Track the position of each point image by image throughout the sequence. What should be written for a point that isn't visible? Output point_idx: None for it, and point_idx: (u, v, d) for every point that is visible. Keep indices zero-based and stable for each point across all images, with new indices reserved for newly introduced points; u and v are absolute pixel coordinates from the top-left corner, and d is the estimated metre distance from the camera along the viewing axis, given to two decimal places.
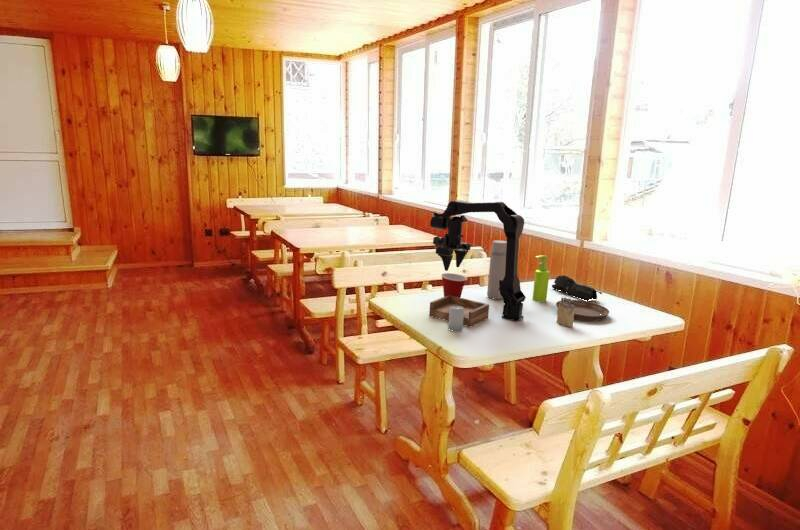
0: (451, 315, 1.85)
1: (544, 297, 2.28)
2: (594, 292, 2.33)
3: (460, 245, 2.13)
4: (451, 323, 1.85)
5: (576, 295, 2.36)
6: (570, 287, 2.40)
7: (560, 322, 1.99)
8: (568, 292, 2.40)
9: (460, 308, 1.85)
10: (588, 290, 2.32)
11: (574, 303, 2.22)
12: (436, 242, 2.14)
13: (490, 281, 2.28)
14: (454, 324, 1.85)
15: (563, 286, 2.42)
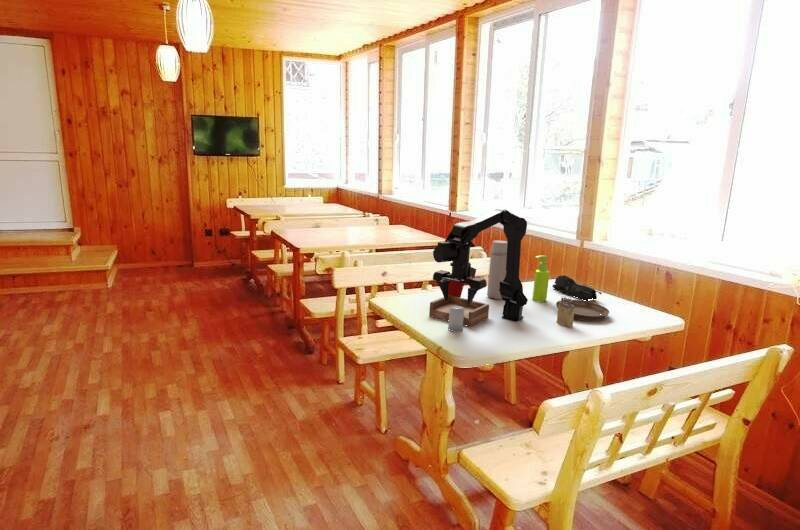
0: (451, 315, 1.85)
1: (544, 297, 2.28)
2: (594, 292, 2.33)
3: (457, 276, 1.81)
4: (451, 323, 1.85)
5: (576, 295, 2.36)
6: (570, 287, 2.40)
7: (560, 322, 1.99)
8: (568, 292, 2.40)
9: (460, 308, 1.85)
10: (587, 290, 2.32)
11: (574, 303, 2.22)
12: None
13: (490, 281, 2.28)
14: (454, 324, 1.85)
15: (563, 286, 2.42)
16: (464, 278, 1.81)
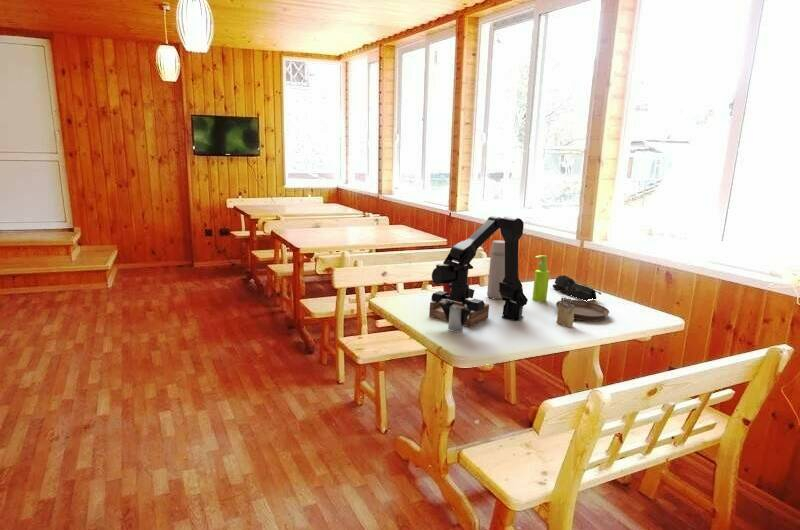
0: (451, 315, 1.85)
1: (544, 297, 2.28)
2: (593, 292, 2.33)
3: (455, 298, 1.82)
4: (451, 323, 1.85)
5: (575, 295, 2.36)
6: (570, 287, 2.40)
7: (560, 322, 1.99)
8: (568, 292, 2.40)
9: (460, 308, 1.85)
10: (587, 290, 2.32)
11: (574, 303, 2.22)
12: None
13: (490, 281, 2.28)
14: (454, 324, 1.85)
15: (563, 286, 2.42)
16: (462, 300, 1.83)
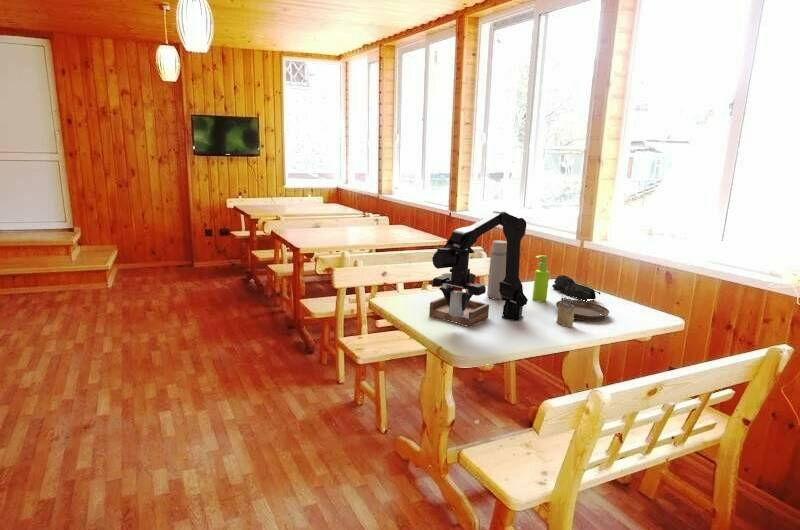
0: (452, 300, 1.84)
1: (544, 297, 2.28)
2: (593, 292, 2.32)
3: (456, 282, 1.81)
4: (452, 308, 1.84)
5: (575, 295, 2.36)
6: (569, 287, 2.40)
7: (560, 322, 1.99)
8: (567, 292, 2.40)
9: (461, 293, 1.84)
10: (586, 290, 2.32)
11: (574, 303, 2.22)
12: None
13: (490, 281, 2.28)
14: (455, 308, 1.83)
15: (562, 286, 2.42)
16: (463, 284, 1.81)
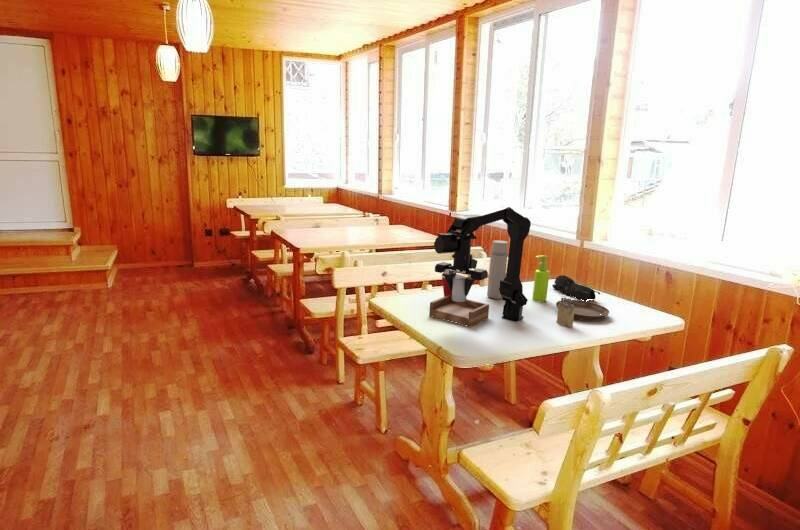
0: (455, 285, 1.86)
1: (544, 297, 2.28)
2: (592, 292, 2.32)
3: (458, 268, 1.83)
4: (454, 293, 1.86)
5: (574, 295, 2.36)
6: (569, 287, 2.40)
7: (560, 322, 1.99)
8: (567, 292, 2.40)
9: (463, 278, 1.86)
10: (586, 290, 2.32)
11: (574, 303, 2.22)
12: None
13: (490, 281, 2.28)
14: (458, 294, 1.85)
15: (562, 286, 2.42)
16: (466, 269, 1.83)
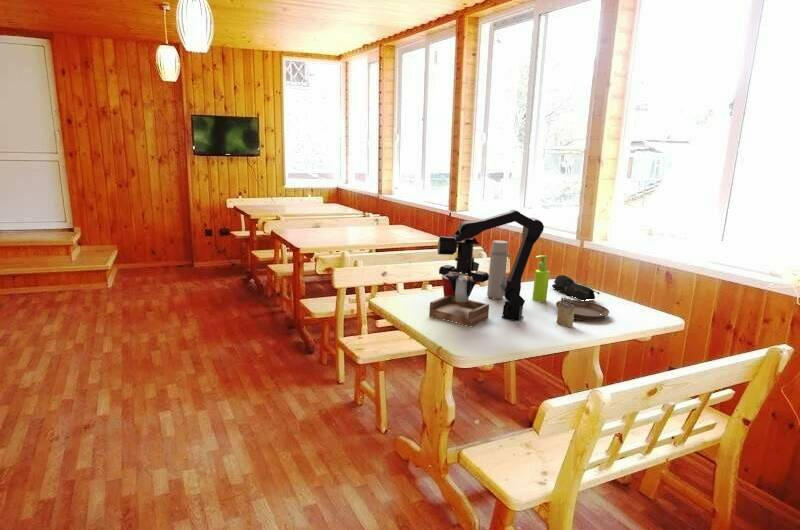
0: (457, 286, 1.98)
1: (544, 297, 2.28)
2: (592, 292, 2.32)
3: (461, 270, 1.96)
4: (457, 294, 1.98)
5: (574, 295, 2.36)
6: (569, 287, 2.40)
7: (560, 322, 1.99)
8: (566, 292, 2.40)
9: (466, 280, 1.99)
10: (585, 290, 2.32)
11: (574, 303, 2.22)
12: None
13: (490, 281, 2.28)
14: (460, 294, 1.98)
15: (562, 286, 2.42)
16: (468, 272, 1.96)
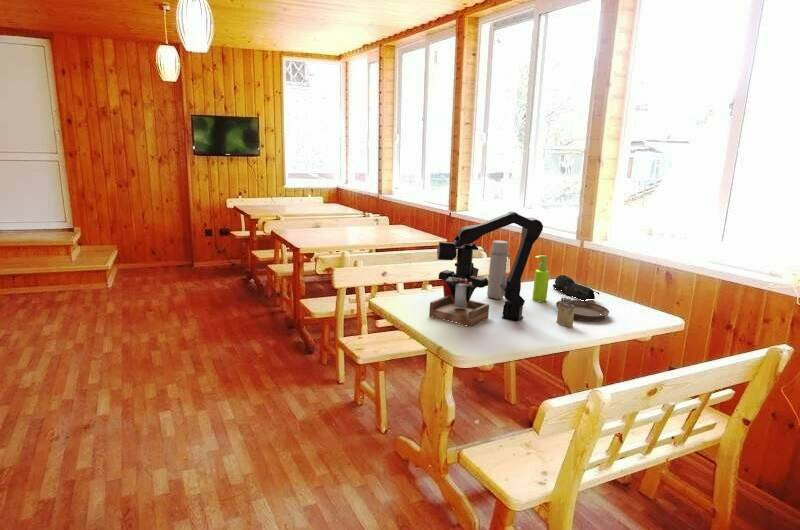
0: (457, 292, 1.98)
1: (544, 297, 2.28)
2: (592, 292, 2.32)
3: (460, 276, 1.96)
4: (457, 299, 1.99)
5: (574, 295, 2.36)
6: (569, 287, 2.40)
7: (560, 322, 1.99)
8: (567, 292, 2.40)
9: (465, 285, 1.99)
10: (585, 290, 2.32)
11: (574, 303, 2.22)
12: None
13: (490, 281, 2.28)
14: (460, 300, 1.98)
15: (562, 286, 2.43)
16: (467, 277, 1.96)
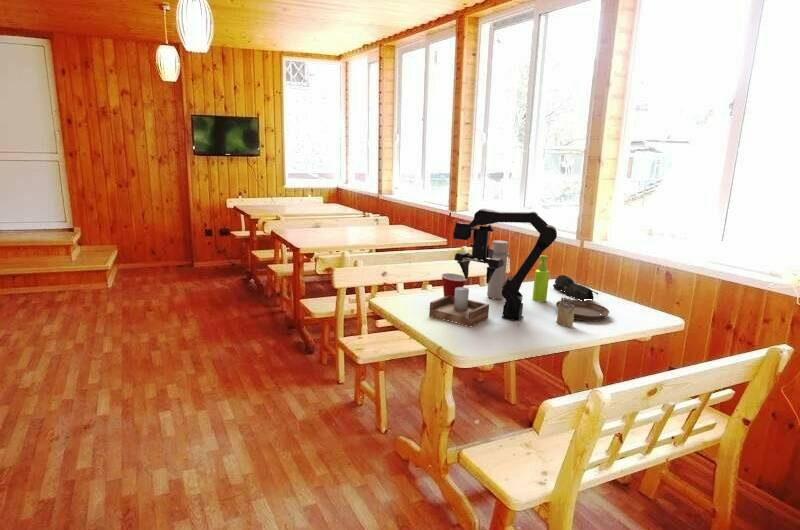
0: (456, 295, 1.99)
1: (544, 297, 2.28)
2: (590, 292, 2.32)
3: (476, 256, 2.00)
4: (456, 303, 1.99)
5: (573, 295, 2.36)
6: (568, 287, 2.40)
7: (560, 322, 1.99)
8: (566, 292, 2.40)
9: (465, 289, 1.99)
10: (584, 290, 2.32)
11: (574, 303, 2.22)
12: None
13: (490, 281, 2.28)
14: (460, 303, 1.98)
15: (562, 286, 2.43)
16: (483, 258, 2.00)
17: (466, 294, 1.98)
